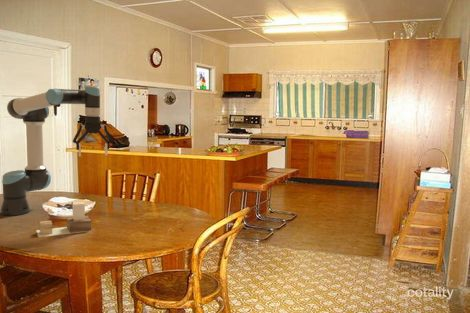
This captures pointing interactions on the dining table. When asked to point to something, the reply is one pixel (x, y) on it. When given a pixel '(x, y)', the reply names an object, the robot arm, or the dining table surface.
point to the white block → (78, 211)
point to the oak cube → (46, 227)
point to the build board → (57, 232)
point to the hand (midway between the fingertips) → (93, 155)
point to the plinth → (78, 225)
